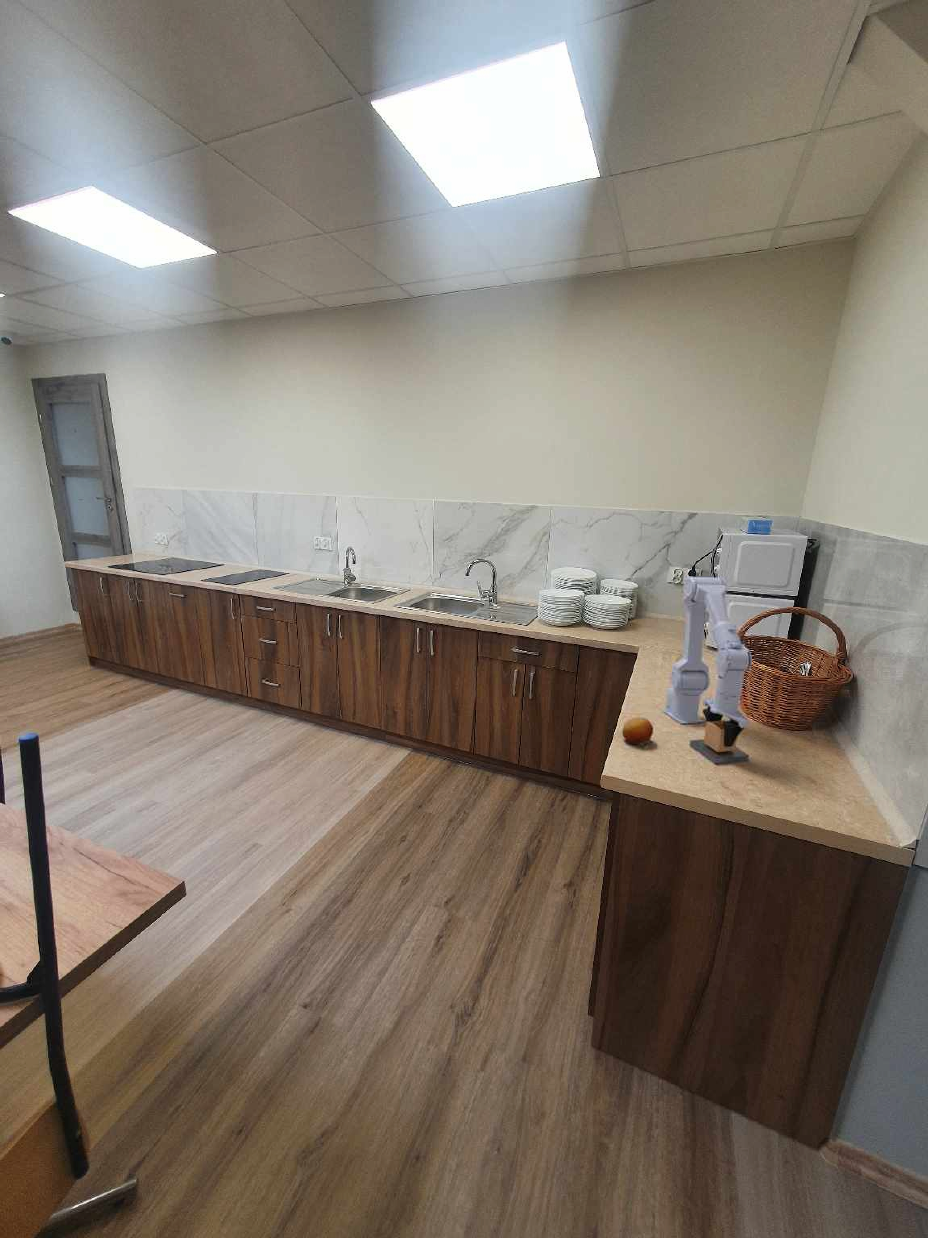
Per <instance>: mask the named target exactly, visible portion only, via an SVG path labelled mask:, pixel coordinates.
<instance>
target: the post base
mask: <svg viewBox="0 0 928 1238" xmlns="http://www.w3.org/2000/svg"><path fill="white" fill-rule="evenodd" d="M689 746H690V747H691V748H692V749H694V750H695V751H696V752H698V753H699V755H702V756H703V757H705V758H706V759H707V760H709V761H710V762H711V763H713V764H714V765H720V764H721V765H722V764H730V763H731V764H732V763H738V762H748V761H749V758H750V755H749V754H747V753H746V752H745V751H744V750H741V749H740V748H739V747H737V746H736V749H735V750H733V751H724V752H717V751H715V750H714V749H712V748H711V747H710V746H708V745H707V744H705V743H704V738H703V739H693V740H690V741H689Z"/></svg>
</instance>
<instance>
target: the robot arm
mask: <svg viewBox="0 0 928 1238" xmlns="http://www.w3.org/2000/svg"><path fill="white" fill-rule="evenodd" d="M682 589H683V591H682V603H683V604H685V605H686V614H685V629H684V639H683V640H684V641H683V655H682V657H683V658H681V659H679V660H678V661H677V662H675V663H673V664H672V669H671V672H670V676H669V677H670V678H669V679H670V681H669V682H670V684H671V685H670V686H671V687H670V688H669V690H668V691H667V695H666V704H665V709H662V712H663V713H664V714H666V715H668V716H669V717H671V718H672V719H673V720H675V722H676V721H677V722H678V723H679V724H682V725H684V724H695V723H696V724H697V723H704V719H702V718H701V717H699V716H698V715H699V708H700V701H701V696H702V695H703V694H704V692H705V691H707V690H708V688H709V687H710V683H711V679H710V673H709V669H710V668H709V666H708V665H706V664H705V663H704V662H703V661H702V654H703V639H704V628H705V627H704V626H705V613H706V609H707V612H708V613H709V616H710V618H711V621H712V622H713V625H714V627H713V628H712V630H711V633H712V636H713V640H714V642H715V646H716V649H717V652H718V653H717V655H716V656H715V657H716V658H715V659H716V666H717V667H716V673H717V675H718V676H717V680H716V681H717V682H716V688H715V695H714V698H712V697H703V700H702V706H705V707H706V708H703V709H702V713H703V715H704V718H705V721H706V723H707V722H711V721H722V719H723V717H726V719H729V720H724V721H723V726H724V733H725V735H724V746H725V747H731V746H733V744H734V742H735V740H736V738H737V739H738V737H739V735H740V734H741V733H742V731H744V729H746V728H749V725H750V721H751V720H750V719H748V718H747V717H746V716H745V715H744V714H743V713H742V712H741V711H740V710H739V705H740V700H741V695H742V688H743V684H744V678H745V672H748V670H750V668H751V666H752V661H753V660H752V659H753V657H752V654H751V651H750V650H749V649H748V648H747V647H746V645H744V644H742V642H741V638H740V636H739V633H738V630H737V628H736V625H735V624H734V623H732V622H730V621H729V616H728V612H727V607H726V603H725V598H726V595H727V582H726V581H725V579H724V578H723V577H721V576H719V577H704V576H701V577H700V576H689V577H688V578H686V580H685V582H684V583H683V588H682ZM737 736H738V737H737Z"/></svg>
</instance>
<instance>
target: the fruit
mask: <svg viewBox="0 0 928 1238" xmlns="http://www.w3.org/2000/svg"><path fill="white" fill-rule="evenodd" d="M621 732H622V733H621V734H622V736H623V738H624V739H625V740H626V741H627V742H628V743H629V744H632V745H637V746H638V745H639V746H642V747H644V746H645V744H646V743H648V742H649V743H652V742H651V738H652V735H653V734H654V727H653V724H652V723H651V721H650V720H649V719H648V718H646V717H642V716H641V717H640V716H637V717H633V718H630V719H627V720H626V721H625V723H624V724H623V728H622V731H621Z"/></svg>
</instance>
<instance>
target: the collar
mask: <svg viewBox="0 0 928 1238" xmlns="http://www.w3.org/2000/svg"><path fill="white" fill-rule="evenodd" d="M723 721H725V720H724V719H723V720H721V721H711V722H706V725H705V731H704V736H703V737H704V738H703V739H704V743H705V744H707V745H708V746H710V747H711V748H712V749H714V750H715V751H717V752H724V751H733V750H735V749H736V747H737V742H738V737H739V735H738V736H737V738H736V740H735V742H734V744H733V746H731V747H725V746H724V735H725V733H724V726H723Z"/></svg>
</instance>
